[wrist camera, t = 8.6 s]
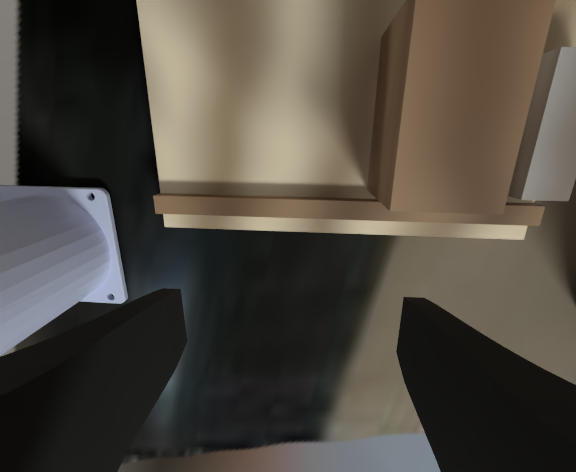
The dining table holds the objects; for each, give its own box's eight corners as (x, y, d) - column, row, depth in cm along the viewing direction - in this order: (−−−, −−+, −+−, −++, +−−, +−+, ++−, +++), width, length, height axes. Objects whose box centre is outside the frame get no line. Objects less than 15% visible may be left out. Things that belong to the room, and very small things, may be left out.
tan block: (367, 189, 16) (389, 211, 11) (389, -45, 13) (434, -156, 8) (444, 191, 15) (502, 214, 11) (487, -49, 12) (596, -167, 8)
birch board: (176, 220, 19) (146, 237, 15) (145, -57, 14) (94, -115, 11) (506, 231, 17) (552, 253, 14) (584, -75, 13) (678, -150, 10)
